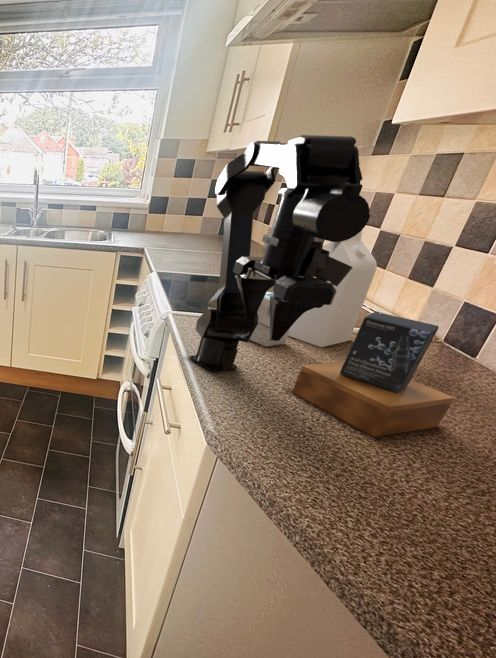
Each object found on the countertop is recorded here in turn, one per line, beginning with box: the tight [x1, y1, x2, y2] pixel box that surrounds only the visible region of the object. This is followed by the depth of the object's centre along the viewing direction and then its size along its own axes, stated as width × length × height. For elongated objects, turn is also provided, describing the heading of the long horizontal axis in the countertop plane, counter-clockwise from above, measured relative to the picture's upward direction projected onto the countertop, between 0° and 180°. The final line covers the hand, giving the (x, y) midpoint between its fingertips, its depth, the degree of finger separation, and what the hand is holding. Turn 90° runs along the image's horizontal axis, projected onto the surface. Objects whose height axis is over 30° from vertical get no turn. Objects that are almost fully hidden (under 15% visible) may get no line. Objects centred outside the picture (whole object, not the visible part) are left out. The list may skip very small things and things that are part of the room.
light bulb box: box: [248, 291, 290, 347], centre depth 99 cm, size 11×7×11 cm, turn 22°
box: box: [340, 310, 439, 393], centre depth 67 cm, size 8×6×11 cm
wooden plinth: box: [291, 360, 455, 438], centre depth 70 cm, size 14×14×6 cm
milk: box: [287, 230, 378, 348], centre depth 99 cm, size 12×12×26 cm
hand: (261, 329), depth 68 cm, fingers open, 9 cm apart
